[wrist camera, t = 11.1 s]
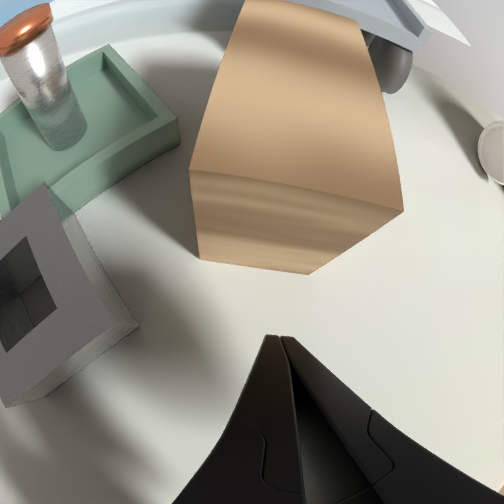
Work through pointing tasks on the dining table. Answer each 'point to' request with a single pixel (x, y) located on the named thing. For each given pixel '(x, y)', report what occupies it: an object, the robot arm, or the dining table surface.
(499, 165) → the spread jar
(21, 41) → the pin
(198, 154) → the block
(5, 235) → the holder
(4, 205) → the tray
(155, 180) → the dining table surface
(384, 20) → the trolley
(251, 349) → the dining table surface
